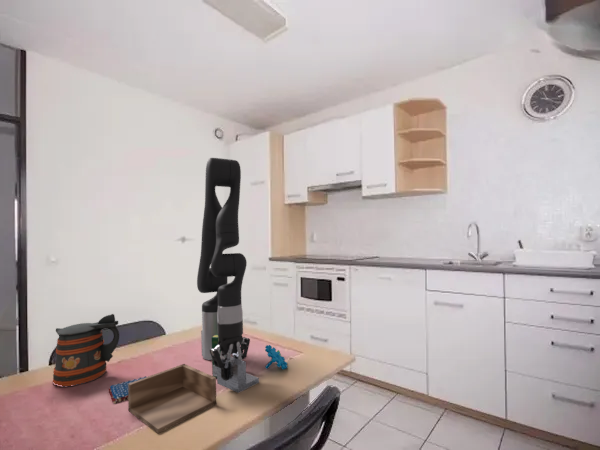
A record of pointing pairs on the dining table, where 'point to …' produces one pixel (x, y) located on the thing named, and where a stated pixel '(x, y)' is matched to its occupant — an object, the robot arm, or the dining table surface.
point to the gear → (275, 357)
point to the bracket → (237, 376)
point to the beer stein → (83, 351)
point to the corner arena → (171, 396)
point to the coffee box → (214, 344)
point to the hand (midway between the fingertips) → (231, 376)
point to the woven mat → (120, 391)
